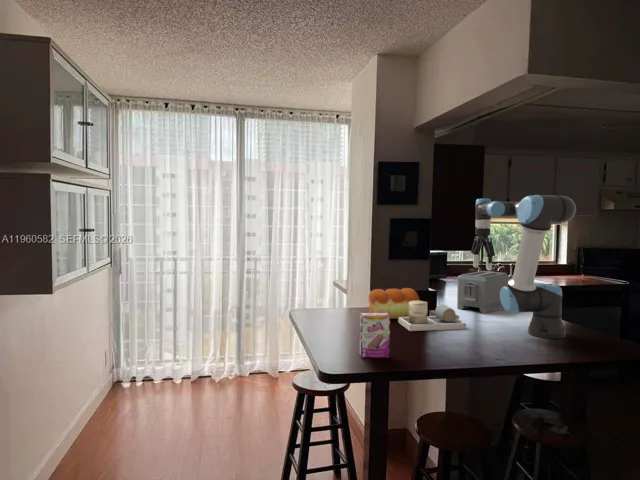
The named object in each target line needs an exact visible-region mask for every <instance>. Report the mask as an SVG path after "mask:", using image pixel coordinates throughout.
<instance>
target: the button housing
mask: <svg viewBox="0 0 640 480" xmlns="http://www.w3.org/2000/svg"><path fill="white" fill-rule="evenodd" d="M435 310H436V309H435ZM435 310H434V309H433V310H428V311H429V313H428V314H429V316H436V315H435Z"/></svg>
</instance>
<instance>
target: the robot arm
mask: <svg viewBox="0 0 640 480" xmlns="http://www.w3.org/2000/svg"><path fill="white" fill-rule="evenodd" d="M575 203H576V202H575V201H574V200H573V199H572V198H570V197H569V196H565V195H556V194H555V195H551V194H550V195H547V194H546V195H544V194H541V195H540V194H534V195H527V196H525V197H523V198H522V199H521V200H520V201H497V200H494V201H492V200H491V198H477V199H476V200H475V230H474V231H475V235H476V236H474V238H473V243H472V247H471V251H470V253H471V254H472V255H473V259H472V260H473V261H472V263H473V265H472V266H473V267H474V268H475V267H479V265H480V264H479V263H480V262H479V261H480V260H479V259H480V257H479V255H480V250H481V249H482V247H483V248H484V250H485V253H486V257H485V258H486V259H485V261H486V265H485V268H486V270H493V257H494V256H496V253H495V249H494V245H493V237H489V236H491V232H492V231H491V230H492V229H491V227H492V226H491V223H492V222H491V219H492V218H497V217H500V218H501V217H502V218H503V217H504V218H505V217H510V218H511V217H512V218H513V217H516V218H517V221H518V222H519V223H520V224H519V225H520V226H521V228H522V234H521V239H520V243H519V248H518V251H517V256H516V261H515V267H514V271H513V274H512V278H510V280H509V281H508V284H507V287H506V286H504V287H503V288H501V290H500V300H501V303H502V306H503V309H504V310H505V311H507V312H508V313H515V314H520V313H532V316H531V320H530V323H529V326H528V327H527V333H528V334H529V335H531V336H533V335H534V337H537V336H538V338H542V337H543V338H544V339H558V340H559V339H564V338H566V334H567V333H566V329H565V326H564V322H563V320H562V314H563V313H562V311H563V309H562V308H563V291H562V290H563V289H562V287H560V286H558V285H555V284H549V283H542V282H534V281H535V278H536V273H537V270H538V265H539V262H540V261H539V260H540V258H541V257H540V256H541V253H542V248H543V244H544V241H545V235H546V233H547V232H549V231H551V229H552V225H553V224H563V223H567V222H569V221H571V220H572V219H573V218H574V216H575V215H576V212H577V206H576V204H575Z"/></svg>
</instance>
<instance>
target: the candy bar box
mask: <svg viewBox="0 0 640 480" xmlns="http://www.w3.org/2000/svg"><path fill="white" fill-rule="evenodd" d="M359 314H360V315H359V356H360V358H361V359H369V358H370V359H372V358H374V359H376V358H377V359H381V358H382V359H383V358H385V359H386V358H387V359H389V358H390V350H391V349H390V346H391V345H390V344H391V343H390V342H391V319H390V315H389V314H388V313H369V312H360V313H359Z"/></svg>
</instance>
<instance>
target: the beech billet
mask: <svg viewBox="0 0 640 480" xmlns="http://www.w3.org/2000/svg"><path fill="white" fill-rule="evenodd" d="M427 316H428V301H426V300H425V301H424V300H420V301H410V302H409V323H410V324H415V325H419V324H427Z"/></svg>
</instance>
